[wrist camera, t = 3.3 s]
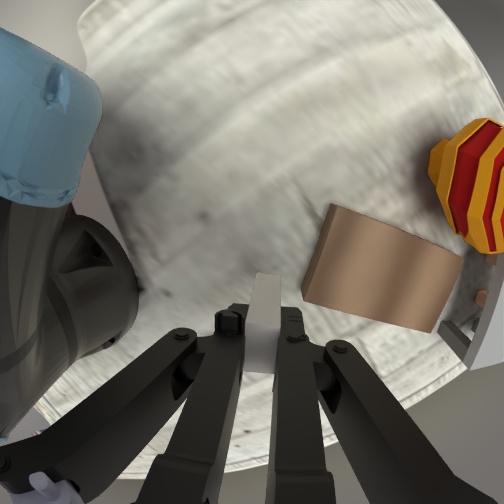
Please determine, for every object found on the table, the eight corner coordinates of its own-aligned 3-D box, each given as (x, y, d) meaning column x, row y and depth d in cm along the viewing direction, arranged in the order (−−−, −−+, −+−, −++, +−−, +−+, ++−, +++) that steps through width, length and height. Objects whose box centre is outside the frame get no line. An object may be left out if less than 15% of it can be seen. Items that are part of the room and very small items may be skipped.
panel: (300, 287, 25) (303, 300, 22) (329, 202, 22) (337, 206, 20) (418, 319, 25) (430, 333, 22) (448, 250, 22) (464, 258, 20)
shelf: (437, 332, 24) (469, 370, 17) (468, 188, 20) (517, 195, 13) (478, 328, 24) (510, 359, 17) (508, 200, 20) (552, 210, 12)
